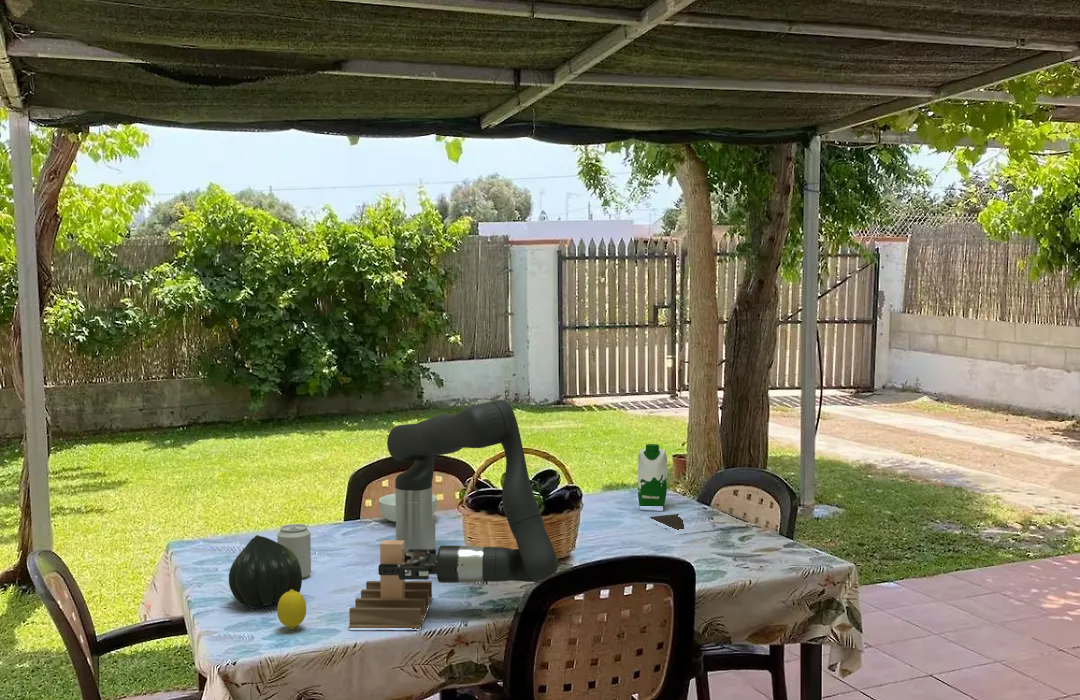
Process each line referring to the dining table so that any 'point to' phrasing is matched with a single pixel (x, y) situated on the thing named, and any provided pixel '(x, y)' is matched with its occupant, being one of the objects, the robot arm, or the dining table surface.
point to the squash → (264, 573)
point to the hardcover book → (677, 520)
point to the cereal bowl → (389, 506)
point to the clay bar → (392, 555)
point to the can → (297, 544)
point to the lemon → (291, 609)
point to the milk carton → (652, 476)
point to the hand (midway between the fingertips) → (382, 563)
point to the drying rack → (391, 607)
